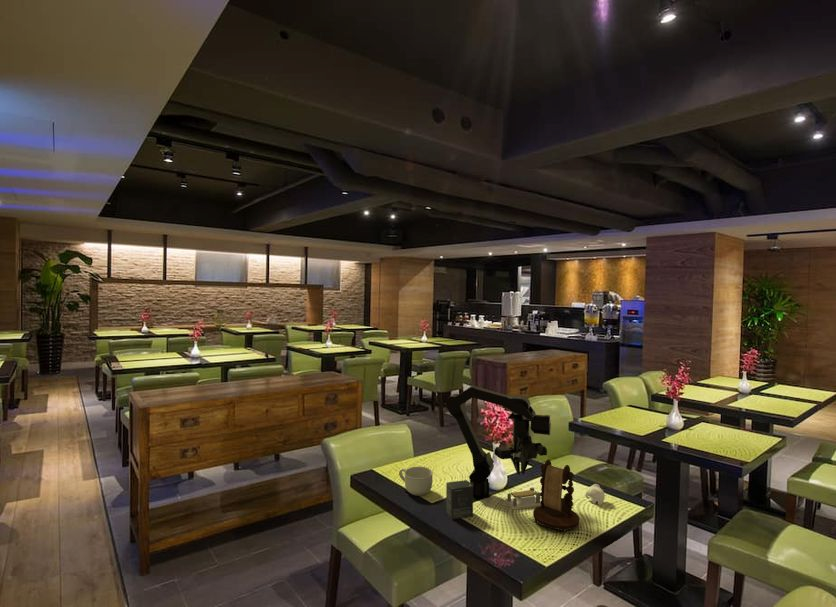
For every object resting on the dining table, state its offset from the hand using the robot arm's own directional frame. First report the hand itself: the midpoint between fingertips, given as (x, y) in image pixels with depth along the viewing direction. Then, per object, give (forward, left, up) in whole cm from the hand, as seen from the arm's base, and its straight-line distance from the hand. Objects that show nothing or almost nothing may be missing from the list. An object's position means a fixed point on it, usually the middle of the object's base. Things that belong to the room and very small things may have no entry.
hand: (520, 474), depth 163 cm
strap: (+1, -1, -7) cm, 7 cm away
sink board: (+1, -1, -10) cm, 10 cm away
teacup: (-34, +20, -10) cm, 41 cm away
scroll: (+4, -16, -10) cm, 20 cm away
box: (-25, -2, -10) cm, 27 cm away
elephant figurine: (+27, -7, -10) cm, 30 cm away
